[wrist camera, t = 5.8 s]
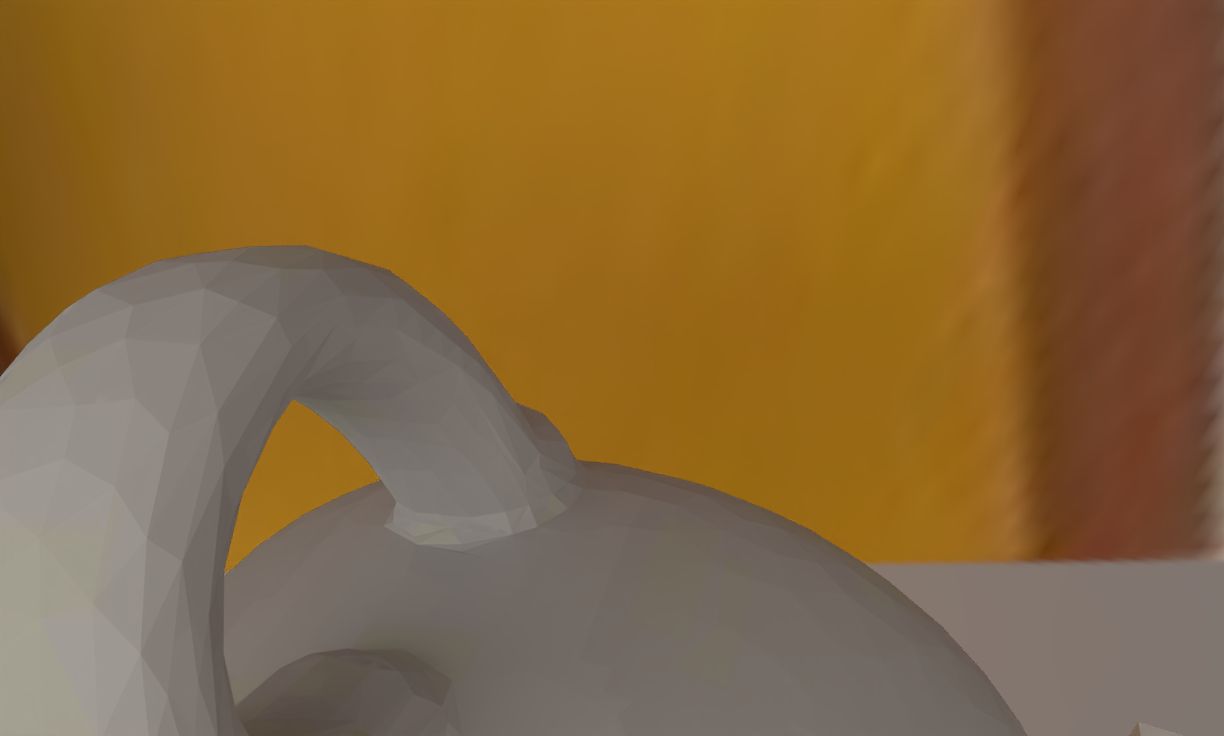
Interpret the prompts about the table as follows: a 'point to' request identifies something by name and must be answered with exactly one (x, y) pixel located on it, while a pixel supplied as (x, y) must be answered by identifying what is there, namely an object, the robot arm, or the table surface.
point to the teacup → (401, 545)
